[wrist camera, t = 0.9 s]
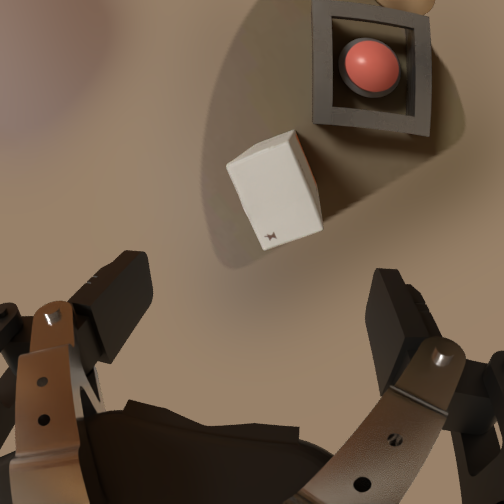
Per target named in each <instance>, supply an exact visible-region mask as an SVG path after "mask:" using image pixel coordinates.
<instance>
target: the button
mask: <svg viewBox="0 0 504 504" xmlns="http://www.w3.org/2000/svg"><path fill="white" fill-rule="evenodd" d="M338 68H339V73H340V75H341V77H342V79H343V81H344V83H345V84H346V85H347V86H348V87H349V88H350V89H351V90H352V91H354V92H355V93H357V94H359V95H361V96H365V97H369V98H377V97H383V96H385V95H387V94H389V93H391V92H392V91H393V90H394V89H395V88H396V87H397V85H398V83H399V81H400V77H401V67H400V63H399V60H398V58H397V56H396V54H395V53H394V52H393V50H392V49H391V48H390V47H389V46H387V45H386V44H384V43H383V42H381V41H379V40H376V39H372V38H359V39H355V40H353V41H351V42H350V43H348V44H347V45H346V46H345V47H344V48H343V50H342V51H341V53H340V56H339V60H338Z"/></svg>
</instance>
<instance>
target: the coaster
mask: <svg viewBox="0 0 504 504" xmlns="http://www.w3.org/2000/svg"><path fill="white" fill-rule="evenodd" d="M375 1H376V2H377V3H378V4H379V5H381V6H382V7H386V8H392V9H397V10H402V11H406V12H411V13H415V14H420V15H424V14H426V13H428V12H429V11H430V10H431V9H432V7H433V5H434V3H435V0H375Z"/></svg>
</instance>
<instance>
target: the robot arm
mask: <svg viewBox="0 0 504 504" xmlns="http://www.w3.org/2000/svg"><path fill="white" fill-rule="evenodd" d="M152 298H153V286H152V281H151V275H150V269H149V263H148V257H147V254H146V253H145V252H141V251H130V250H126V251H124V252H123V253H121V254H120V255H119V256H118V257H117V258H116V259H115V260H114V261H113V262H112V263H110V264H108V265H106V266H104V267H102V268H101V269H100V270H99V271H98V272H97V273H96V274H94V276H93V277H91V278H90V279H89V280H88V281H87V283H86V284H84V285H83V286H82V287H81V288H80V289H79V290H78V291H77V292H76V293H75V294H74V295H73V296H72V297H71V298H70V299H69V300H68V301H67V302H66V301H54V302H50V303H48V304H46V305H44V306H42V307H41V308H39V309H38V310H37V311H36V313H35V314H34V316H21V315H20V312H19V310H18V307H17V306H16V304H14V303H3V304H0V352H1V353H2V355H3V357H4V359H5V360H6V362H7V364H8V365H9V368H8V369H7V370H6V371H5V373H4V374H3V375H2V377H1V378H0V449H1V447H2V445H3V443H4V442H5V440H6V438H7V437H8V435H9V433H10V431H11V430H12V428H13V426H14V425H15V439H16V451H14V452H11V453H9V454H7V455H4V456H2V457H0V504H399V502H400V501H401V499H402V498H403V496H404V495H405V493H406V492H407V490H408V489H409V487H410V485H411V484H412V482H413V480H414V479H415V477H416V476H417V474H418V472H419V471H420V469H421V467H422V465H423V464H424V462H425V460H426V458H427V457H428V455H429V453H430V451H431V449H432V447H433V445H434V443H435V441H436V439H437V438H438V435H439V433H440V431H441V429H442V430H448V431H451V435H452V440H453V445H454V451H455V456H456V461H457V467H458V474H459V481H460V489H461V497H462V504H504V351H498V352H496V353H494V354H493V355H492V357H491V359H490V361H489V363H488V364H486V363H481V362H476V361H472V360H468V359H466V356H465V353H464V351H463V350H462V348H461V347H460V346H459V345H458V344H457V343H455V342H454V341H452V340H450V339H447V338H444V337H442V335H441V333H440V331H439V329H438V327H437V325H436V323H435V321H434V319H433V317H432V315H431V313H429V309H428V307H427V305H426V304H425V301H424V299H423V297H422V295H421V293H420V292H419V291H417V290H416V289H415V288H414V287H413V286H412V285H411V284H405V283H404V281H403V279H402V277H401V275H400V273H399V271H398V270H397V269H382V268H376V270H375V272H374V275H373V280H372V284H371V289H370V293H369V298H368V302H367V306H366V313H365V322H366V327H367V332H368V336H369V341H370V346H371V350H372V355H373V360H374V365H375V369H376V375H377V380H378V385H379V391H380V396H382V397H381V399H380V400H379V402H378V403H377V404H376V405H375V407H374V408H373V409H372V411H371V412H370V413H369V415H368V416H367V417H366V418H365V420H364V421H363V422H362V423H361V425H360V426H359V427H358V428H357V429H356V431H355V432H354V433H353V434H352V435H351V437H350V438H349V439H348V440H347V441H346V442H345V444H344V445H343V446H342V447H341V448H340V449H339V451H337V453H336V454H335V455H333V454H331V453H330V452H328V451H327V450H325V449H323V448H321V447H319V446H317V445H315V444H312V443H310V442H307V441H303V440H300V439H299V427H293V426H279V425H267V424H257V423H251V424H239V425H224V426H204V425H202V424H199V423H197V422H194V421H192V420H190V419H188V418H185V417H183V416H181V415H179V414H177V413H174V412H172V411H170V410H168V409H166V408H161V407H157V406H153V405H149V404H145V403H141V402H137V401H133V400H128V402H127V404H126V406H125V408H124V410H116V411H115V410H114V411H106V410H105V407H104V402H103V398H102V393H101V388H100V383H99V378H98V373H97V370H96V367H95V364H96V363H97V361H100V362H104V363H108V364H111V363H112V362H113V360H114V359H115V357H116V356H117V354H118V353H119V351H120V349H121V348H122V346H123V345H124V343H125V342H126V340H127V339H128V337H129V336H130V334H131V333H132V331H133V330H134V328H135V327H136V325H137V324H138V322H139V321H140V319H141V318H142V316H143V315H144V313H145V312H146V311H147V309H148V308H149V306H150V304H151V302H152ZM496 421H497V422H498V425H499V428H500V431H501V435H502V439H503V444H502V449H500V445H499V442H498V438H497V435H496V431H495V428H494V424H495V423H496Z"/></svg>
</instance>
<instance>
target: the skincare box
mask: <svg viewBox="0 0 504 504" xmlns="http://www.w3.org/2000/svg"><path fill="white" fill-rule="evenodd" d="M226 168H227V171H228V173H229V175H230V177H231V179H232V182H233V184H234V186H235V188H236V190H237V193H238V195H239V197H240V200H241V203H242V206H243V208H244V211H245V213H246V215H247V217H248V218H249V220H250V222H251V224H252V227H253V229H254V231H255V233H256V235H257V237H258V240H259V242H260V244H261V246H262V248H263V250H265V251H266V250H268V249H271V248H274V247H277V246H280V245H282V244H285V243H288V242H291V241H294V240H297V239H300V238H302V237H305V236H308V235H311V234H314V233H317V232H320V231H323V229H324V228H323V220H322V213H321V207H320V200H319V194H318V187H317V183H316V181H315V179H314V176H313V174H312V171H311V169H310V166H309V164H308V161H307V159H306V156H305V154H304V151H303V149H302V146H301V144H300V141H299V139H298V136H297V134H296V131H295V130H292V131H289V132H286V133H284V134H281V135H278V136H275V137H273V138H270V139H267V140H265V141H262V142H260V143H257V144H255V145H254V146H252V147H251V148H249V149H248V150H247V151H245V152H244V153H242V154H241V155H240V156H238V157H237V158H236V159H234V160H233V161H231V162H229V163H228V164H227V165H226Z"/></svg>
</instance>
